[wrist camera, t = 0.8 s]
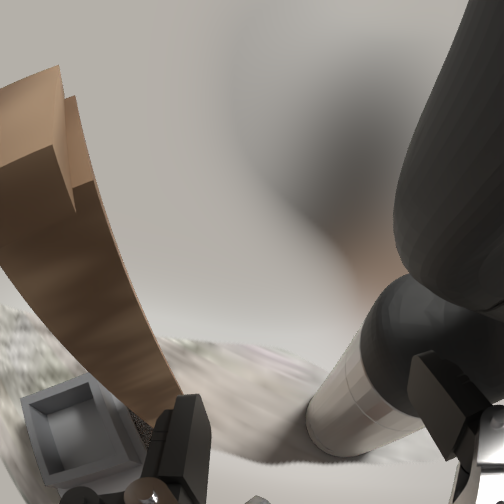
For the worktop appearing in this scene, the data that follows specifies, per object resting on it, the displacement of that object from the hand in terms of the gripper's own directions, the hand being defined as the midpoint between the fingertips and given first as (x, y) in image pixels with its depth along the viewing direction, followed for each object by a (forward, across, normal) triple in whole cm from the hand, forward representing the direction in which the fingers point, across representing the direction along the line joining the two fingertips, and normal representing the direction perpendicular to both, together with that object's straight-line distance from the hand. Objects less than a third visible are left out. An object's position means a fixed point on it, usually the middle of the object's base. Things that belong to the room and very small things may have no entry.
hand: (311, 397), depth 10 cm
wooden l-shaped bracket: (+12, +19, +16) cm, 28 cm away
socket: (+12, +22, +16) cm, 30 cm away
